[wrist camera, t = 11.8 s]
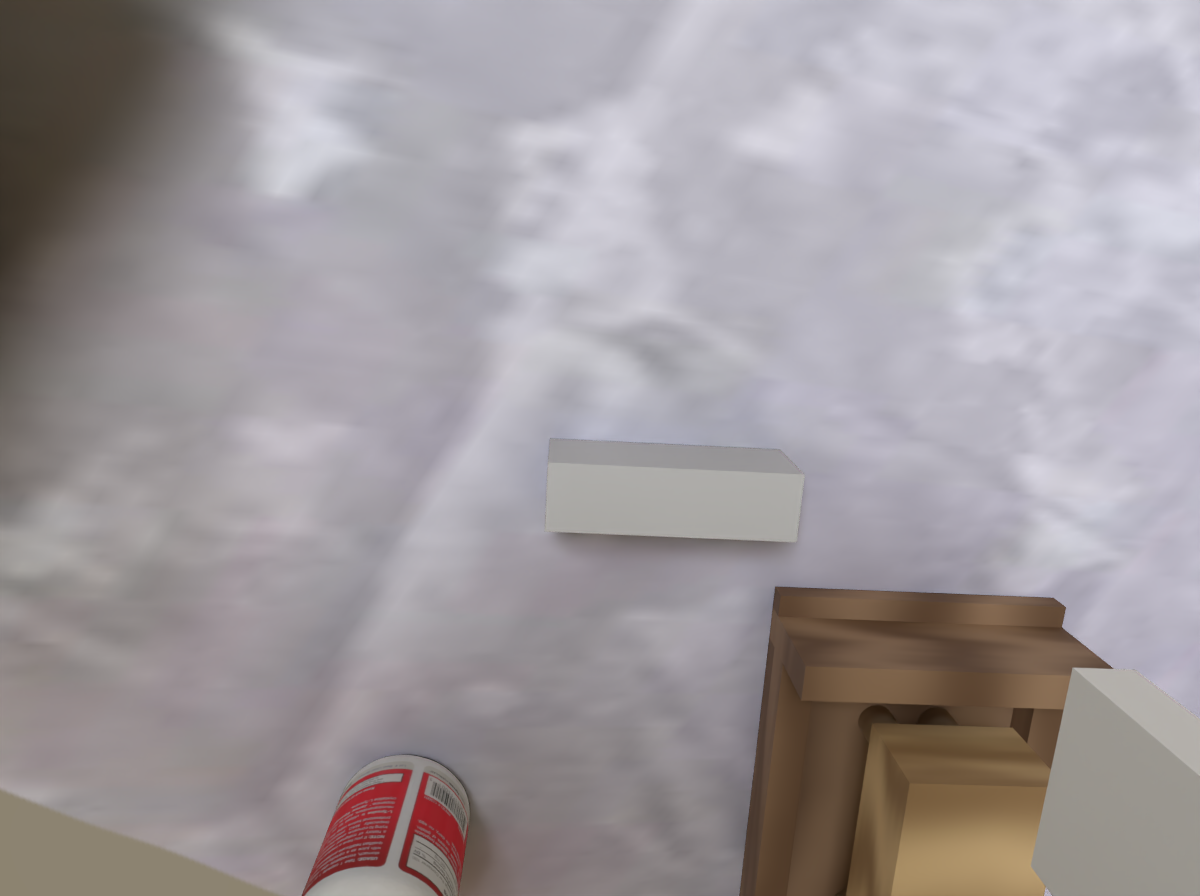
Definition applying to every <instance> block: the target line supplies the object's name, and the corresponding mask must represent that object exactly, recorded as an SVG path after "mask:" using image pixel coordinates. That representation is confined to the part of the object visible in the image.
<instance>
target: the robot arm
mask: <svg viewBox="0 0 1200 896" xmlns="http://www.w3.org/2000/svg"><path fill="white" fill-rule="evenodd" d="M1031 867H1032V869H1033V870H1034V871H1035V873H1036V874H1037V875H1038V877H1039V878H1040V880H1041V881H1042V882H1043V884H1044V885H1045V886H1046V888H1047V889H1048V890H1049V892H1050V893H1051V895H1052V896H1200V719H1199V718H1198V717H1196V716H1195V715H1194V714H1192V713H1191V712H1190V711H1188V710H1187V709H1186V708H1185V707H1183V706H1182V705H1181V704H1179V703H1178V702H1177V701H1175V700H1174V699H1173V698H1171V697H1170V696H1169V695H1168V694H1166V693H1165V692H1164V691H1162V690H1161V689H1160V688H1158V687H1157V686H1156V685H1154V684H1153V683H1152V682H1150V681H1149V680H1148V679H1147V678H1145V677H1144V676H1143V675H1141V674H1140V673H1139V672H1137V671H1136V670H1126V669H1098V668H1072V673H1071V678H1070V682H1069V687H1068V692H1067V696H1066V701H1065V706H1064V711H1063V715H1062V720H1061V725H1060V730H1059V734H1058V739H1057V744H1056V748H1055V753H1054V758H1053V763H1052V767H1051V772H1050V777H1049V781H1048V786H1047V791H1046V796H1045V800H1044V805H1043V810H1042V814H1041V819H1040V824H1039V829H1038V833H1037V838H1036V843H1035V847H1034V852H1033V857H1032V862H1031Z"/></svg>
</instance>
